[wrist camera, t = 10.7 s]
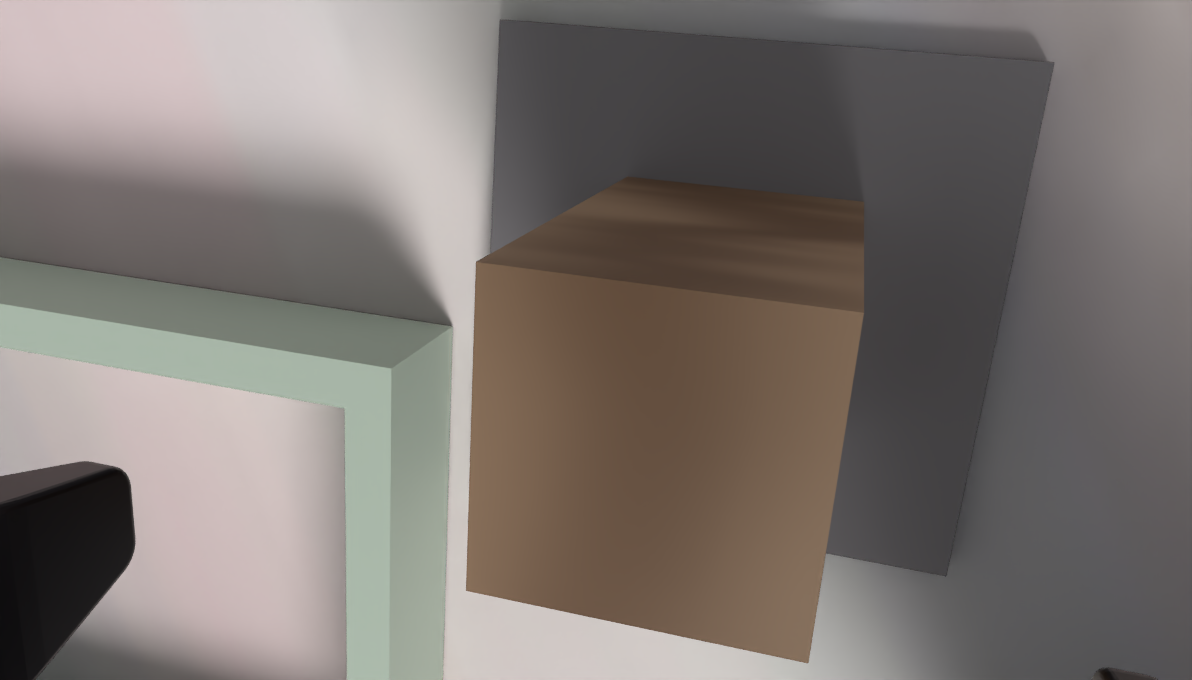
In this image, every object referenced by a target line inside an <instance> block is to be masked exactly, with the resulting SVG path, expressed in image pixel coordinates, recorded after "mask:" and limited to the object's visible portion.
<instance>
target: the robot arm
mask: <svg viewBox="0 0 1192 680" xmlns="http://www.w3.org/2000/svg"><path fill="white" fill-rule="evenodd" d="M134 549H135V529H134V517H133V506H132V494H131V484H130V480H129V478H128V476H127V474H126V473H125V472H124V471H123V470H122V469H120V468H118V467H114V466H109V465H104V464H99V463H94V462H88V461H83V462H76V463H70V464H65V465H59V466H54V467H48V468H43V469H37V470H32V471H26V472H21V473H16V474H10V475H5V476H0V680H35V679H36V678H37V677H38V676H39V675H40V674H41V672H42V671H43V670H44V669H45V668H46V666H47V665H48V664H49V663H50V662H51V660H52V659H53V658H54V657H55V655H56V654H57V653H58V652H59V651H60V649H61V648H62V647H63V646H64V644H65V643H66V642H67V641H68V639H69V638H70V637H71V636H72V635H73V633H74V632H75V631H76V630H77V628H78V627H79V626H80V625H81V623H82V622H83V621H84V620H85V619H86V617H87V616H88V615H89V614H90V612H91V611H92V610H93V609H94V608H95V606H96V605H97V604H98V603H99V601H100V600H101V599H102V598H103V596H104V595H105V594H106V593H107V592H108V590H109V589H110V588H111V587H112V585H113V584H114V583H115V582H116V580H117V579H118V578H119V577H120V576H121V574H122V573H123V572H124V571H125V569H126V568H127V566H128V565H129V563H130V561H131V559H132V556H133V553H134ZM1091 680H1158V679H1156V678H1154V677H1151V676H1148V675H1144V674H1139V673H1134V672H1129V671H1124V670H1119V669H1114V668H1101V669H1099V670H1098V671H1096V673H1095V674H1094V675H1093V677H1092V679H1091Z"/></svg>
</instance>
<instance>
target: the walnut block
mask: <svg viewBox="0 0 1192 680" xmlns="http://www.w3.org/2000/svg"><path fill="white" fill-rule="evenodd" d="M863 316H864V202H861V201H852V200H843V199H833V198H824V197H814V196H805V195H796V194H786V193H777V192H768V191H758V190H749V189H739V188H730V187H721V186H711V185H702V184H693V183H683V182H674V181H664V180H655V179H646V178H636V177H626V178H624V179H622V180H620V181H619V182H617V183H615V184H613V185H612V186H610V187H608V188H606V189H604V190H603V191H601V192H599V193H597V194H596V195H594V196H592V197H590V198H589V199H587V200H585V201H583V202H581V203H580V204H578V205H576V206H574V207H573V208H571V209H569V210H567V211H565V212H564V213H562V214H560V215H558V216H557V217H555V218H553V219H551V220H550V221H548V222H546V223H544V224H542V225H541V226H539V227H537V228H535V229H534V230H532V231H530V232H528V233H526V234H525V235H523V236H521V237H519V238H518V239H516V240H514V241H512V242H511V243H509V244H507V245H505V246H503V247H502V248H500V249H498V250H496V251H495V252H493V253H491V254H489V255H487V256H486V257H484V258H482V259H480V260H479V261H477V262H476V281H475V314H474V347H473V380H472V413H471V446H470V479H469V512H468V545H467V578H466V591H470V592H475V593H479V594H484V595H489V596H494V597H498V598H503V599H508V600H512V601H517V602H522V603H527V604H531V605H536V606H541V607H545V608H550V609H555V610H560V611H564V612H569V613H574V614H578V615H583V616H588V617H592V618H597V619H602V620H607V621H611V622H616V623H621V624H625V625H630V626H635V627H640V628H644V629H649V630H654V631H658V632H663V633H668V634H673V635H677V636H682V637H687V638H691V639H696V640H701V641H706V642H710V643H715V644H720V645H724V646H729V647H734V648H739V649H743V650H748V651H753V652H757V653H762V654H767V655H771V656H776V657H781V658H786V659H790V660H795V661H800V662H804V663H808V662H809V655H810V649H811V643H812V636H813V630H814V624H815V618H816V611H817V605H818V599H819V592H820V586H821V580H822V574H823V567H824V561H825V555H826V548H827V542H828V536H829V530H830V523H831V517H832V511H833V504H834V498H835V492H836V486H837V479H838V473H839V467H840V460H841V454H842V448H843V442H844V435H845V429H846V423H847V417H848V410H849V404H850V398H851V391H852V385H853V379H854V373H855V366H856V360H857V354H858V347H859V341H860V335H861V329H862V322H863Z"/></svg>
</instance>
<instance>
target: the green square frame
mask: <svg viewBox="0 0 1192 680" xmlns="http://www.w3.org/2000/svg"><path fill="white" fill-rule="evenodd" d="M452 331H453V326H446V325H440V324H433V323H427V322H420V321H414V320H407V319H400V318H394V317H387V316H381V315H374V314H368V313H361V312H355V311H348V310H342V309H335V308H329V307H322V306H316V305H309V304H303V303H296V302H290V301H283V300H276V299H270V298H263V297H257V296H250V295H244V294H237V293H231V292H224V291H218V290H211V289H205V288H198V287H192V286H185V285H179V284H172V283H165V282H159V281H152V280H146V279H139V278H133V277H126V276H120V275H113V274H107V273H100V272H94V271H87V270H81V269H74V268H68V267H61V266H55V265H48V264H41V263H35V262H28V261H22V260H15V259H9V258H2V257H0V347H2V348H7V349H13V350H19V351H24V352H30V353H35V354H41V355H47V356H52V357H58V358H64V359H69V360H75V361H80V362H86V363H92V364H97V365H103V366H108V367H114V368H120V369H125V370H131V371H137V372H142V373H148V374H153V375H159V376H165V377H170V378H176V379H182V380H187V381H193V382H198V383H204V384H210V385H215V386H221V387H226V388H232V389H238V390H243V391H249V392H255V393H260V394H266V395H271V396H277V397H283V398H288V399H294V400H300V401H305V402H311V403H316V404H322V405H328V406H333V407H339V408H345V523H346V644H347V680H443V651H444V616H445V580H446V544H447V509H448V473H449V438H450V402H451V366H452Z"/></svg>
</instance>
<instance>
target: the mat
mask: <svg viewBox="0 0 1192 680" xmlns="http://www.w3.org/2000/svg"><path fill="white" fill-rule="evenodd" d="M1053 67H1054V62H1044V61H1031V60H1018V59H1005V58H992V57H979V56H966V55H953V54H940V53H927V52H914V51H901V50H888V49H875V48H863V47H850V46H837V45H824V44H811V43H798V42H785V41H772V40H759V39H746V38H733V37H720V36H707V35H694V34H681V33H669V32H656V31H643V30H630V29H617V28H604V27H591V26H578V25H565V24H552V23H539V22H526V21H513V20H500V28H499V53H498V78H497V103H496V128H495V154H494V179H493V204H492V229H491V253H493V252H495V251H496V250H498V249H500V248H502V247H503V246H505V245H507V244H509V243H511V242H512V241H514V240H516V239H518V238H519V237H521V236H523V235H525V234H526V233H528V232H530V231H532V230H534V229H535V228H537V227H539V226H541V225H542V224H544V223H546V222H548V221H550V220H551V219H553V218H555V217H557V216H558V215H560V214H562V213H564V212H565V211H567V210H569V209H571V208H573V207H574V206H576V205H578V204H580V203H581V202H583V201H585V200H587V199H589V198H590V197H592V196H594V195H596V194H597V193H599V192H601V191H603V190H604V189H606V188H608V187H610V186H612V185H613V184H615V183H617V182H619V181H620V180H622V179H624V178H626V177H636V178H646V179H655V180H664V181H674V182H683V183H693V184H702V185H711V186H721V187H730V188H739V189H749V190H758V191H768V192H777V193H786V194H796V195H805V196H814V197H824V198H833V199H843V200H852V201H861V202H864V316H863V322H862V329H861V335H860V341H859V347H858V354H857V360H856V366H855V373H854V379H853V385H852V391H851V398H850V404H849V410H848V417H847V423H846V429H845V435H844V442H843V448H842V454H841V460H840V467H839V473H838V479H837V486H836V492H835V498H834V504H833V511H832V517H831V523H830V530H829V536H828V542H827V548H826V553H827V554H833V555H838V556H843V557H848V558H853V559H859V560H864V561H869V562H874V563H880V564H885V565H890V566H895V567H901V568H906V569H911V570H916V571H921V572H927V573H932V574H937V575H942V576H946V575H947V570H948V566H949V561H950V556H951V551H952V547H953V542H954V537H955V532H956V528H957V523H958V518H959V513H960V509H961V504H962V499H963V494H964V490H965V485H966V480H967V475H968V471H969V466H970V461H971V456H972V452H973V447H974V442H975V437H976V433H977V428H978V423H979V418H980V414H981V409H982V404H983V399H984V395H985V390H986V385H987V380H988V376H989V371H990V366H991V361H992V357H993V352H994V347H995V342H996V338H997V333H998V328H999V323H1000V319H1001V314H1002V309H1003V304H1004V300H1005V295H1006V290H1007V285H1008V281H1009V276H1010V271H1011V266H1012V262H1013V257H1014V252H1015V247H1016V243H1017V238H1018V233H1019V228H1020V224H1021V219H1022V214H1023V209H1024V205H1025V200H1026V195H1027V190H1028V186H1029V181H1030V176H1031V171H1032V167H1033V162H1034V157H1035V152H1036V148H1037V143H1038V138H1039V133H1040V129H1041V124H1042V119H1043V114H1044V110H1045V105H1046V100H1047V95H1048V91H1049V86H1050V81H1051V76H1052V72H1053Z"/></svg>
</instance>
